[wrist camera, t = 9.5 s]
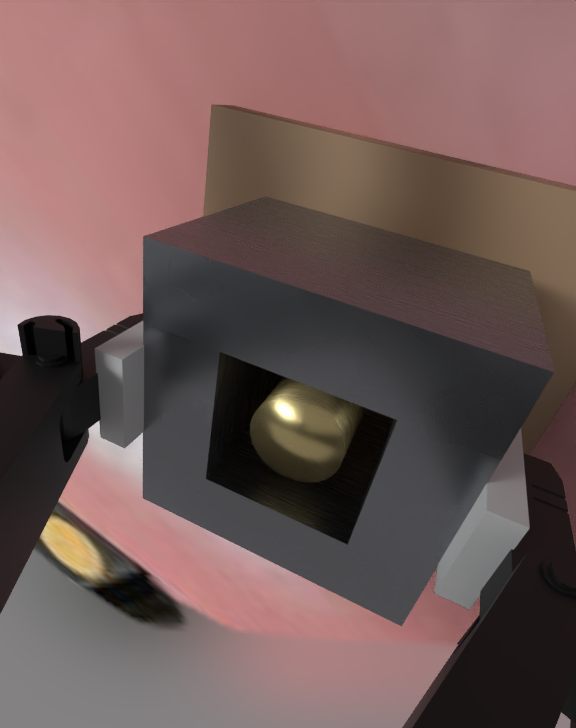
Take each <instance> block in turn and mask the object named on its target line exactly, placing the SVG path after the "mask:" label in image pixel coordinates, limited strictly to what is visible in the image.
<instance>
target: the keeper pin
mask: <svg viewBox="0 0 576 728" xmlns="http://www.w3.org/2000/svg"><path fill="white" fill-rule="evenodd" d="M365 409H366V408H365V407H362V406H359V405H357V404H354V403H352V402H349V401H346V400H344V399H341V398H339V397H336V396H333V395H331V394H328V393H326V392H323V391H320V390H318V389H315V388H313V387H310V386H307V385H305V384H302V383H300V382H297V381H294V380H292V379H289V378H287V377H283V379H282V380H281V381H280V382H279V383H278V385H277V386H276V387H275V388H274V390H273V391H272V392H271V393H270V394H269V396H268V397H267V398H266V399H265V401H264V402H263V403H262V404H261V405H260V407H259V408H258V409H257V410H256V412H255V413H254V415H253V417H252V419H251V423H250V436H251V440H252V443H253V445H254V448H255V450H256V451H257V453H258V454H259V456H260V457H261V458H262V460H263V461H264V462H265V463H266V464H267V465H268V466H269V467H271V468H272V469H273V470H275V471H276V472H278V473H279V474H281V475H283V476H285V477H287V478H290V479H292V480H296V481H300V482H319V481H322V480H325V479H327V478H329V477H331V476H332V475H334V474H335V473H336V472H337V471H338V469H339V468H340V466H341V464H342V461H343V459H344V457H345V454H346V452H347V450H348V448H349V445H350V443H351V441H352V439H353V436H354V434H355V432H356V430H357V427H358V425H359V423H360V421H361V418H362V416H363V414H364V412H365Z"/></svg>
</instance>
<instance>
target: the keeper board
mask: <svg viewBox="0 0 576 728" xmlns="http://www.w3.org/2000/svg"><path fill="white" fill-rule="evenodd" d="M265 196H267V197H271V198H274V199H278V200H281V201H285V202H288V203H292V204H295V205H299V206H302V207H306V208H310V209H313V210H317V211H320V212H324V213H327V214H331V215H334V216H338V217H341V218H345V219H348V220H352V221H355V222H359V223H362V224H366V225H370V226H373V227H377V228H380V229H384V230H387V231H391V232H394V233H398V234H401V235H405V236H408V237H412V238H415V239H419V240H423V241H426V242H430V243H433V244H437V245H440V246H444V247H447V248H451V249H454V250H458V251H461V252H465V253H468V254H472V255H476V256H479V257H483V258H486V259H490V260H493V261H497V262H500V263H504V264H507V265H511V266H514V267H518V268H521V269H525V270H528V271H530V272H531V276H532V281H533V285H534V289H535V293H536V297H537V302H538V306H539V310H540V314H541V318H542V323H543V327H544V331H545V335H546V339H547V344H548V348H549V352H550V356H551V361H552V365H553V369H554V374H553V375H552V377H551V379H550V380H549V382H548V384H547V385H546V387H545V388H544V390H543V392H542V393H541V395H540V397H539V398H538V400H537V402H536V403H535V405H534V407H533V408H532V410H531V412H530V413H529V415H528V417H527V418H526V420H525V422H524V423H523V425H522V427H521V433H522V445H523V453H524V454H527V455H529V454H530V453H531V451H532V450H533V448H534V447H535V445H536V444H537V442H538V440H539V439H540V437H541V436H542V434H543V433H544V431H545V430H546V428H547V427H548V425H549V423H550V422H551V420H552V419H553V417H554V416H555V414H556V413H557V411H558V410H559V408H560V406H561V405H562V403H563V402H564V400H565V399H566V397H567V396H568V394H569V393H570V391H571V389H572V388H573V386H574V385H575V383H576V186H571V185H567V184H563V183H559V182H554V181H550V180H546V179H542V178H538V177H533V176H529V175H525V174H521V173H516V172H512V171H508V170H504V169H499V168H495V167H491V166H487V165H482V164H478V163H474V162H470V161H466V160H461V159H457V158H453V157H449V156H444V155H440V154H436V153H432V152H427V151H423V150H419V149H415V148H410V147H406V146H402V145H398V144H394V143H389V142H385V141H381V140H377V139H372V138H368V137H364V136H360V135H355V134H351V133H347V132H343V131H338V130H334V129H330V128H326V127H321V126H317V125H313V124H309V123H305V122H300V121H296V120H292V119H288V118H283V117H279V116H275V115H271V114H266V113H262V112H258V111H254V110H249V109H245V108H241V107H237V106H230V105H212V106H211V120H210V134H209V147H208V161H207V175H206V188H205V202H204V215H203V217H204V216H207V215H210V214H213V213H216V212H219V211H222V210H225V209H228V208H231V207H234V206H237V205H240V204H243V203H246V202H250V201H253V200H256V199H259V198H262V197H265Z"/></svg>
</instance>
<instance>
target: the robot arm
mask: <svg viewBox="0 0 576 728" xmlns="http://www.w3.org/2000/svg"><path fill="white" fill-rule="evenodd" d="M18 330H19V336H20V342H21V348H22V353H23V356H17V355H11V354H5V353H0V613H1V612H2V610H3V608H4V606H5V604H6V602H7V600H8V598H9V596H10V594H11V592H12V590H13V588H14V586H15V584H16V582H17V580H18V578H19V576H20V574H21V572H22V570H23V568H24V566H25V564H26V563H27V561H28V559H29V557H30V555H31V553H32V551H33V549H34V547H35V545H36V543H37V541H38V539H39V537H40V535H41V533H42V531H43V529H44V527H45V525H46V523H47V521H48V519H49V517H50V515H51V513H52V512H53V510H54V508H55V506H56V504H57V502H58V500H59V498H60V496H61V494H62V492H63V490H64V488H65V486H66V484H67V482H68V480H69V478H70V476H71V474H72V472H73V470H74V468H75V466H76V464H77V463H78V461H79V459H80V457H81V455H82V453H83V451H84V449H85V447H86V445H87V443H88V438H89V431H88V428H90V427H91V426H92V425H94V424H95V423H96V422H98V421H100V435H101V437H102V438H104V439H106V440H108V441H110V442H112V443H114V444H117V445H119V446H121V447H123V448H126V447H127V446H128V445H129V444H130V443H131V442H132V441H133V440H134V439H136V438H137V437H138V436H139V435H140V434H141V433H142V432H143V431H144V345H143V314H138V315H134V316H130V317H128V318H126V319H124V320H122V321H121V322H119V323H117V325H113V326H111V327H110V328H108V329H107V330H106V331H102V332H100V333H98V334H97V335H95V336H93V337H91V338H89V339H87V340H86V341H84V342H82V343H81V339H80V328H79V326H78V324H77V322H75V321H73V320H72V319H70V318H66V317H62V316H51V315H46V316H38V317H33V318H30V319H27V320H24V321H23V322H21V323H20V324H18ZM567 512H568V508H567V503H566V500H565V492H564V487H563V481H562V480H561V478H560V477H559V475H558V474H557V472H556V471H555V469H554V468H553V466H552V465H551V463H548V462H545V461H543V460H540V459H537V458H535V457H532V456H530V455H527V454H524V453H523V445H522V433H521V428H520V430H519V432H518V433H517V435H516V437H515V438H514V440H513V442H512V443H511V445H510V447H509V448H508V450H507V452H506V453H505V455H504V457H503V458H502V460H501V462H500V463H499V465H498V467H497V468H496V470H495V472H494V473H493V475H492V477H491V478H490V480H489V482H488V483H487V484H486V485H485V487H484V489H483V490H482V492H481V494H480V495H479V497H478V499H477V500H476V502H475V504H474V505H473V507H472V509H471V510H470V512H469V514H468V515H467V517H466V519H465V520H464V522H463V524H462V525H461V527H460V529H459V530H458V532H457V533H456V535H455V537H454V538H453V540H452V542H451V543H450V545H449V547H448V548H447V550H446V552H445V553H444V555H443V557H442V558H441V560H440V562H439V563H438V566H437V574H436V582H435V590H434V593H435V594H437V595H439V596H441V597H443V598H446V599H448V600H450V601H452V602H454V603H456V604H458V605H461V606H463V607H465V608H467V609H469V610H470V608H471V607H472V606H473V604H474V603H475V602H476V600H477V599H478V598H479V596H480V615H479V616H478V617H477V619H476V620H475V621H474V623H473V624H472V625H471V627H470V628H469V629H468V630H467V632H466V633H465V634H464V636H463V637H462V638H461V640H460V641H459V642H458V643H457V644H458V646H457V647H456V649H455V650H454V652H453V653H452V655H451V656H450V658H449V659H448V661H447V662H446V664H445V665H444V667H443V668H442V670H441V671H440V673H439V674H438V676H437V677H436V679H435V680H434V681H433V683H432V684H431V686H430V687H429V689H428V690H427V692H426V694H425V695H424V696H423V698H422V700H421V701H420V702H419V704H418V705H417V707H416V708H415V710H414V711H413V713H412V714H411V716H410V717H409V719H408V720H407V722H406V723H405V724H404V726H403V727H402V728H555V726H556V724H557V721H558V719H559V716H560V713H561V712H562V713H563V714H564V715H566V716H567V717H568V718H569V719H570V720H571V724H570V726H571V727H570V728H576V551H575V545H574V540H573V535H572V529H571V524H570V519H569V514H567Z"/></svg>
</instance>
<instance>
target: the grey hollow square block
mask: <svg viewBox="0 0 576 728" xmlns="http://www.w3.org/2000/svg"><path fill="white" fill-rule="evenodd" d="M143 345H144V431H143V498H144V499H146V500H148V501H150V502H152V503H154V504H156V505H158V506H160V507H162V508H164V509H166V510H168V511H170V512H172V513H174V514H176V515H178V516H180V517H182V518H184V519H186V520H188V521H190V522H192V523H194V524H196V525H198V526H200V527H202V528H204V529H206V530H208V531H210V532H212V533H214V534H216V535H218V536H221V537H223V538H225V539H227V540H229V541H231V542H233V543H235V544H237V545H239V546H241V547H243V548H245V549H247V550H249V551H251V552H253V553H255V554H257V555H259V556H261V557H263V558H265V559H267V560H269V561H271V562H273V563H275V564H277V565H279V566H281V567H283V568H285V569H287V570H289V571H291V572H293V573H295V574H297V575H299V576H301V577H303V578H305V579H307V580H309V581H311V582H313V583H315V584H317V585H319V586H321V587H323V588H325V589H327V590H329V591H332V592H334V593H336V594H338V595H340V596H342V597H344V598H346V599H348V600H350V601H352V602H354V603H356V604H358V605H360V606H362V607H364V608H366V609H368V610H370V611H372V612H374V613H376V614H378V615H380V616H382V617H384V618H386V619H388V620H390V621H392V622H394V623H396V624H398V625H400V626H402V624H403V623H404V621H405V619H406V618H407V616H408V614H409V613H410V611H411V610H412V608H413V606H414V605H415V603H416V601H417V600H418V598H419V596H420V595H421V593H422V591H423V590H424V588H425V586H426V585H427V583H428V581H429V580H430V578H431V576H432V575H433V573H434V571H435V570H436V568H437V566H438V563H439V562H440V560H441V558H442V557H443V555H444V553H445V552H446V550H447V548H448V547H449V545H450V543H451V542H452V540H453V538H454V537H455V535H456V533H457V532H458V530H459V529H460V527H461V525H462V524H463V522H464V520H465V519H466V517H467V515H468V514H469V512H470V510H471V509H472V507H473V505H474V504H475V502H476V500H477V499H478V497H479V495H480V494H481V492H482V490H483V489H484V487H485V485H486V484H487V483H488V482H489V480H490V478H491V477H492V475H493V473H494V472H495V470H496V468H497V467H498V465H499V463H500V462H501V460H502V458H503V457H504V455H505V453H506V452H507V450H508V448H509V447H510V445H511V443H512V442H513V440H514V438H515V437H516V435H517V433H518V432H519V430H520V428H521V427H522V425H523V423H524V422H525V420H526V418H527V417H528V415H529V413H530V412H531V410H532V408H533V407H534V405H535V403H536V402H537V400H538V398H539V397H540V395H541V393H542V392H543V390H544V388H545V387H546V385H547V384H548V382H549V380H550V379H551V377H552V375H553V374H554V369H553V365H552V361H551V356H550V352H549V348H548V344H547V339H546V335H545V331H544V327H543V323H542V318H541V314H540V310H539V306H538V302H537V297H536V293H535V289H534V285H533V281H532V276H531V272H530V271H528V270H525V269H521V268H518V267H514V266H511V265H507V264H504V263H500V262H497V261H493V260H490V259H486V258H483V257H479V256H476V255H472V254H468V253H465V252H461V251H458V250H454V249H451V248H447V247H444V246H440V245H437V244H433V243H430V242H426V241H423V240H419V239H415V238H412V237H408V236H405V235H401V234H398V233H394V232H391V231H387V230H384V229H380V228H377V227H373V226H370V225H366V224H362V223H359V222H355V221H352V220H348V219H345V218H341V217H338V216H334V215H331V214H327V213H324V212H320V211H317V210H313V209H310V208H306V207H302V206H299V205H295V204H292V203H288V202H285V201H281V200H278V199H274V198H271V197H267V196H265V197H262V198H259V199H256V200H253V201H250V202H246V203H243V204H240V205H237V206H234V207H231V208H228V209H225V210H222V211H219V212H216V213H213V214H210V215H207V216H204V217H201V218H198V219H195V220H192V221H189V222H186V223H183V224H180V225H177V226H174V227H171V228H168V229H165V230H161V231H158V232H155V233H152V234H149V235H146V236H143ZM283 377H287V378H289V379H292V380H294V381H297V382H300V383H302V384H305V385H307V386H310V387H313V388H315V389H318V390H320V391H323V392H326V393H328V394H331V395H333V396H336V397H339V398H341V399H344V400H346V401H349V402H352V403H354V404H357V405H359V406H362V407H365V408H366V409H365V412H364V414H363V416H362V418H361V421H360V423H359V425H358V427H357V430H356V432H355V434H354V436H353V439H352V441H351V443H350V445H349V448H348V450H347V452H346V454H345V457H344V459H343V461H342V464H341V466H340V468H339V469H338V471H337V472H336V473H335V474H334V475H332V476H331V477H329V478H327V479H325V480H322V481H319V482H300V481H296V480H292V479H290V478H287V477H285V476H283V475H281V474H279V473H278V472H276V471H275V470H273V469H272V468H271V467H269V466H268V465H267V464H266V463H265V462H264V461H263V460H262V458H261V457H260V456H259V454H258V453H257V451H256V450H255V448H254V445H253V443H252V440H251V436H250V423H251V419H252V417H253V415H254V413H255V412H256V410H257V409H258V408H259V407H260V405H261V404H262V403H263V402H264V401H265V399H266V398H267V397H268V396H269V394H270V393H271V392H272V391H273V390H274V388H275V387H276V386H277V385H278V383H279V382H280V381H281V380H282V379H283Z"/></svg>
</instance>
